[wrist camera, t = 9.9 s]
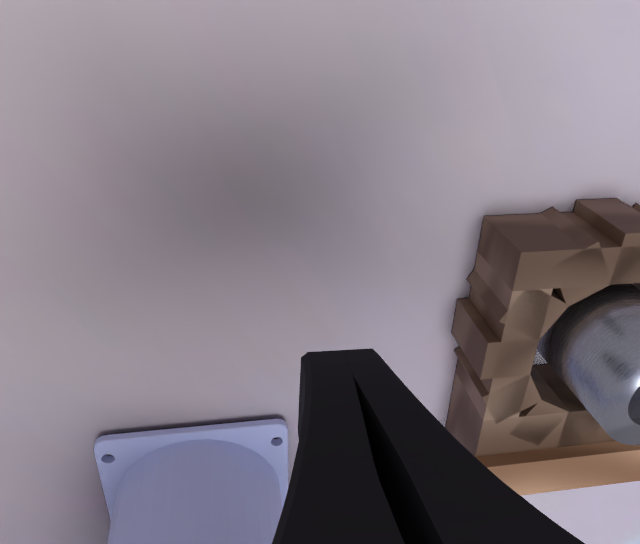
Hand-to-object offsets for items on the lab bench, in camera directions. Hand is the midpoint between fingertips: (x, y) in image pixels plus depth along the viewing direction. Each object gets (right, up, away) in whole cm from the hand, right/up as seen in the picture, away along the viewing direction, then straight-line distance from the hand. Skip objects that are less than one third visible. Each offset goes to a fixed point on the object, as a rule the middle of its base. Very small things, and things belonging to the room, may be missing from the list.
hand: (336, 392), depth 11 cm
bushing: (+10, +1, +13) cm, 17 cm away
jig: (+10, -1, +14) cm, 17 cm away
